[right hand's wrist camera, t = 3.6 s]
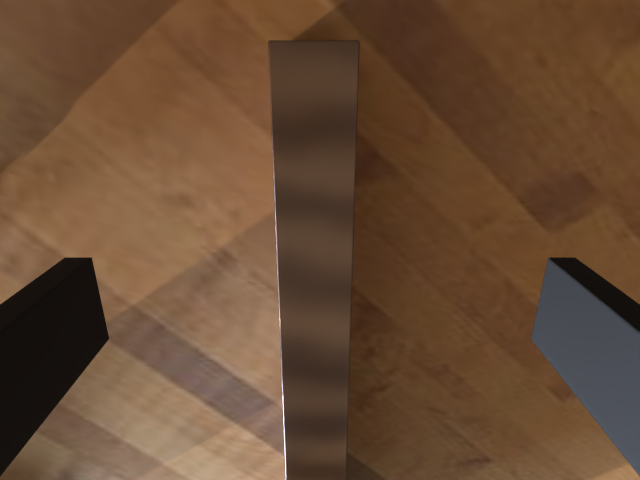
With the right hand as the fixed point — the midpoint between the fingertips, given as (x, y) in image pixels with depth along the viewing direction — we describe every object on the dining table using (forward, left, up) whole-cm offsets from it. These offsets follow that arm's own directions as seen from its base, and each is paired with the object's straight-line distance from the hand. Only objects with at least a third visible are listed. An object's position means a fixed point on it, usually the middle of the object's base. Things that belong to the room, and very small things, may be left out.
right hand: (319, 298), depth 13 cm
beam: (-9, -16, -23) cm, 29 cm away
